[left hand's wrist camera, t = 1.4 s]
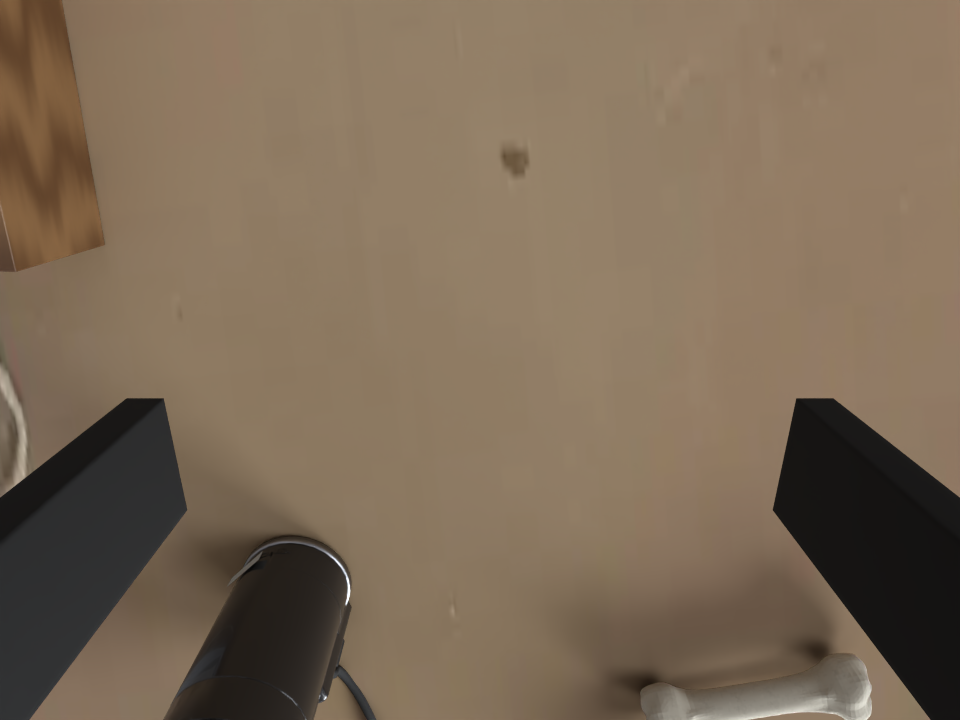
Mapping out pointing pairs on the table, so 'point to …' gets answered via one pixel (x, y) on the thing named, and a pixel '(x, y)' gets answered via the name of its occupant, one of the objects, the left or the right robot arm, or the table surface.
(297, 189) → the table surface
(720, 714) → the dog toy
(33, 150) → the bar
